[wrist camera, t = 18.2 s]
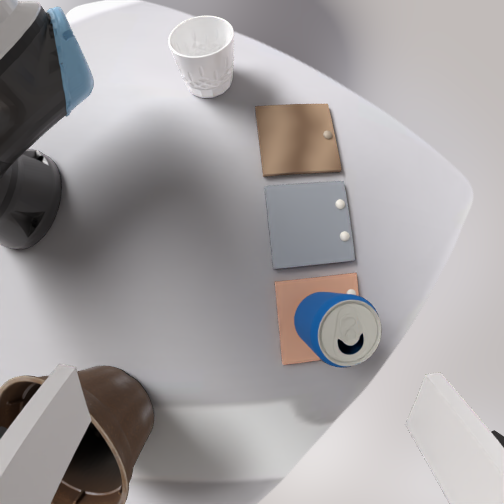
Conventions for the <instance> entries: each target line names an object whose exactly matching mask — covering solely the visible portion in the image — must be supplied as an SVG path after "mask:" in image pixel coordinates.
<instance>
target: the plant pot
mask: <svg viewBox="0 0 504 504" xmlns="http://www.w3.org/2000/svg"><path fill="white" fill-rule="evenodd" d="M77 373H78V377H79V381H80V384H81V388H82V391H83V395H84V398H85V401H86V405H87V408H88V411H89V414H90V417H91V422H90V424H89V426H88V428H87V430H86V432H85V434H84V436H83V438H82V440H81V441H80V443H79V445H78V447H77V449H76V451H75V453H74V455H73V457H72V459H71V461H70V464H69V466H68V468H67V470H66V472H65V474H64V476H63V478H62V480H61V482H60V484H59V486H58V489H57V491H56V493H55V495H54V497H53V499H52V502H51V504H125V502H126V500H127V496H128V491H129V482H130V480H131V477H132V472H133V467H134V464H135V462H136V460H137V458H138V456H139V454H140V452H141V450H142V448H143V446H144V444H145V442H146V440H147V438H148V436H149V434H150V432H151V430H152V427H153V422H154V413H153V408H152V404H151V401H150V399H149V397H148V395H147V393H146V391H145V390H144V388H143V387H142V386H141V384H140V383H139V382H138V381H137V380H136V379H134V378H132V377H130V376H129V375H127V374H126V373H125V372H123V371H122V370H121V369H118V368H115V367H111V366H96V367H92V368H89V369H85V370H81V371H77ZM48 377H49V376H42V377H35V376H19V377H15V378H12V379H10V380H8V381H7V382H5V383H4V384H3V385H2V387H1V388H0V427H1V426H2V427H5V428H7V429H8V428H9V427H10V425H11V424H12V423H13V421H14V420H15V419H16V417H17V416H18V415H19V413H20V412H21V411H22V410H23V408H24V407H25V406H26V404H27V403H28V402H29V401H30V399H31V398H32V397H33V395H34V394H35V393H36V392H37V390H38V389H39V388H40V387H41V385H42V384H43V383H44V382H45V380H46V379H47V378H48Z"/></svg>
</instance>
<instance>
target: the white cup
mask: <svg viewBox="0 0 504 504" xmlns="http://www.w3.org/2000/svg"><path fill="white" fill-rule="evenodd" d="M168 44H169V47H170V49H171V52H172V54H173V57H174V59H175V62H176V64H177V67H178V69H179V71H180V74H181V76H182V78H183V80H184V81H185V84H186V87H187V89H188V90H189V91H190V92H191V93H192V94H193V95H195V96H198V97H201V98H211V97H215V96H218V95H220V94H223V93H224V92H225V91H226V90H227V89H228V88H229V87H230V85H231V82H232V79H233V61H234V30H233V27H232V26H231V24H230V23H229V22H227V21H226V20H224V19H222V18H219V17H215V16H199V17H194V18H191V19H188V20H186V21H184V22H182V23H180V24H179V25H178V26H176V27H175V28H174V29H173V31H172V32H171V34H170V36H169V39H168Z"/></svg>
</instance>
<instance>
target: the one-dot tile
mask: <svg viewBox="0 0 504 504" xmlns="http://www.w3.org/2000/svg"><path fill="white" fill-rule="evenodd" d="M255 112H256V120H257V128H258V136H259V145H260V153H261V162H262V170H263V177H267V176H279V175H294V174H310V173H329V172H340V171H341V170H342V169H341V163H340V158H339V153H338V148H337V143H336V138H335V133H334V129H333V124H332V120H331V115H330V111H329V107H328V104H290V105H269V106H255Z"/></svg>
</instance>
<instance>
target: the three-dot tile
mask: <svg viewBox="0 0 504 504" xmlns="http://www.w3.org/2000/svg"><path fill="white" fill-rule="evenodd" d="M275 292H276V302H277V313H278V323H279V334H280V345H281V356H282V364H283V365H287V364H295V363H303V362H310V361H317V360H321V359H320V358H319V357H318V356H317V355H316V354H315V353H314V352H313V351H312V350H311V348H310V347H309V346H308V345H307V344H306V343H305V342H304V341H303V340H302V339H301V338H300V337H299V335H298V334H297V332H296V329H295V325H294V316H295V312H296V309H297V307H298V305H299V304H300V303H301V301H302V300H303V299H304V298H306V297H307V296H309V295H310V294H313V293H316V292H332V293H343V294H353V295H357V296H359V292H358V282H357V273H349V274H341V275H332V276H323V277H315V278H306V279H296V280H287V281H277V282H275Z"/></svg>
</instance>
